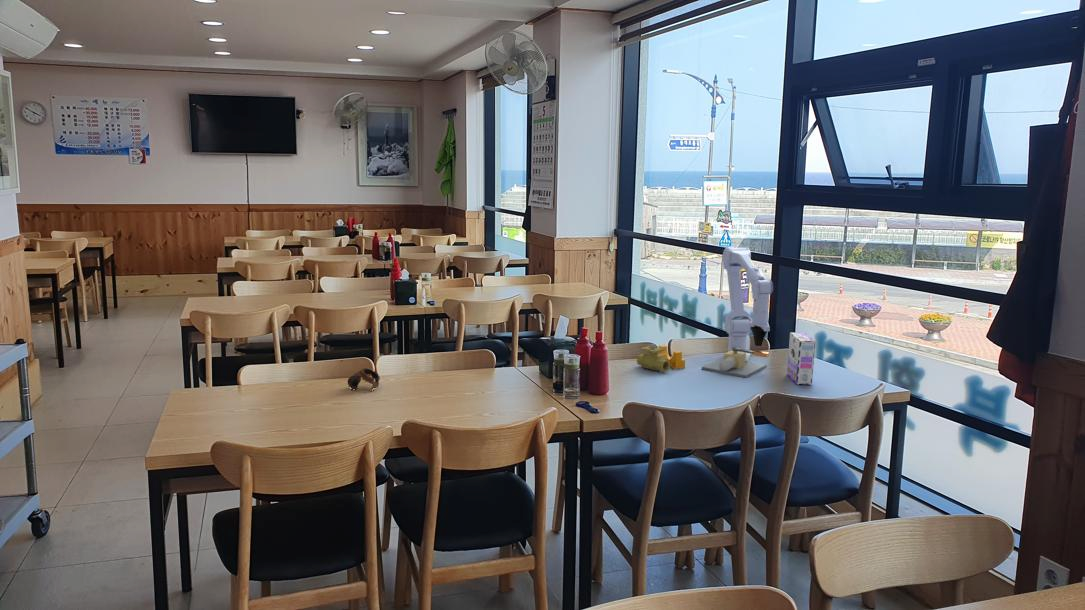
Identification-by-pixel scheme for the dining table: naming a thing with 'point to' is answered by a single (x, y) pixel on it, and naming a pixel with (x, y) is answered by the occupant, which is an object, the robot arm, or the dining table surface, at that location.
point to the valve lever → (752, 352)
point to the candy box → (801, 358)
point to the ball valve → (653, 359)
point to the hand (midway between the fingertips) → (758, 345)
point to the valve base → (735, 365)
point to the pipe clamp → (673, 358)
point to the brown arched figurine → (364, 378)
